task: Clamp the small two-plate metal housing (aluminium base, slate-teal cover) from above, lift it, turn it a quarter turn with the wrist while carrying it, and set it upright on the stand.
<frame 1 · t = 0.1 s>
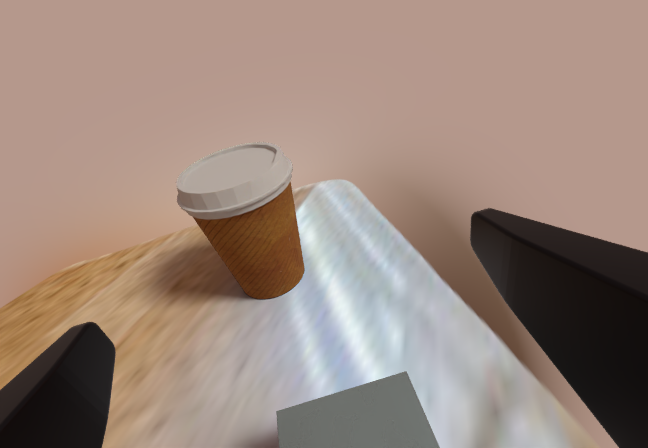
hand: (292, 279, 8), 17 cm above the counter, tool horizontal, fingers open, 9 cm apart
disposable coffee cup: (274, 276, 35), on the counter
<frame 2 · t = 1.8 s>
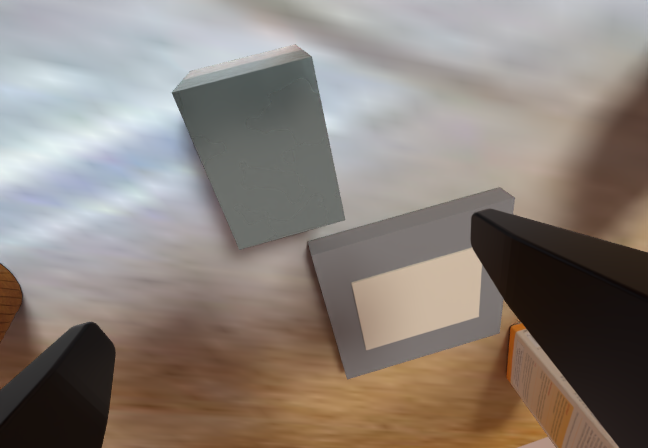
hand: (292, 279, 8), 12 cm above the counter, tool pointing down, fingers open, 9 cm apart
supplement box: (528, 342, 33), on the counter
housing: (265, 129, 18), on the counter
stand: (411, 286, 26), on the counter
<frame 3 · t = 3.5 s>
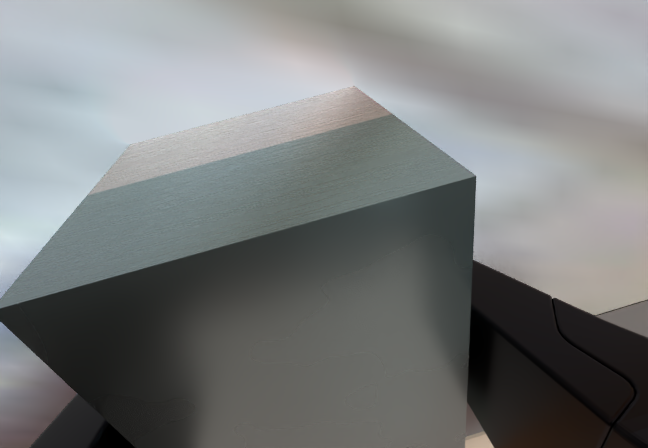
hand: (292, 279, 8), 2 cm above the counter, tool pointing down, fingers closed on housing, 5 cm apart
housing: (285, 239, 10), on the counter, touching gripper
stand: (495, 425, 17), on the counter
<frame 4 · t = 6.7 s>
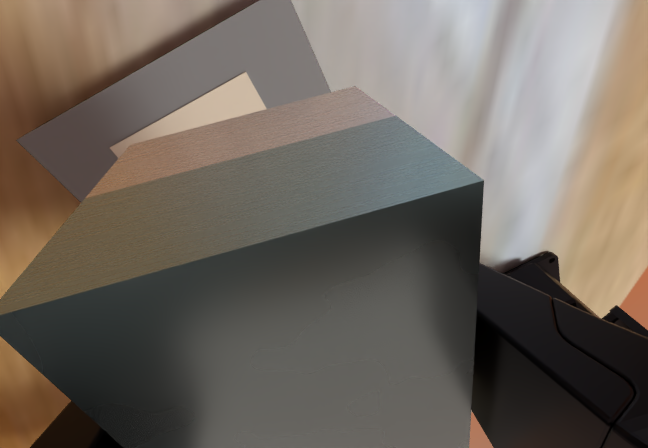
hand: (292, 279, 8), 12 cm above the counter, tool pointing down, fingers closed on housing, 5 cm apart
housing: (286, 241, 10), point 10 cm above the counter, touching gripper
stand: (234, 177, 19), on the counter
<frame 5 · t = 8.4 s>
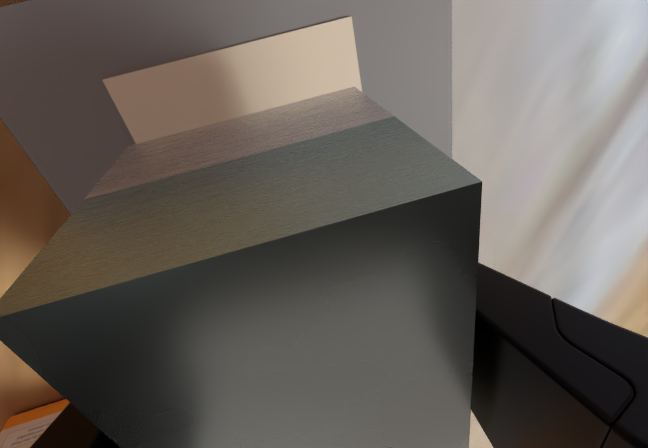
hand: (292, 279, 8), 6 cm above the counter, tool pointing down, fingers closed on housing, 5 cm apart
supplement box: (115, 408, 19), on the counter
housing: (285, 242, 10), point 5 cm above the counter, touching gripper
stand: (271, 171, 13), on the counter
when the fingers open (4 cm above the counter, at t = 9.7 s): housing drops 1 cm, resting on stand.
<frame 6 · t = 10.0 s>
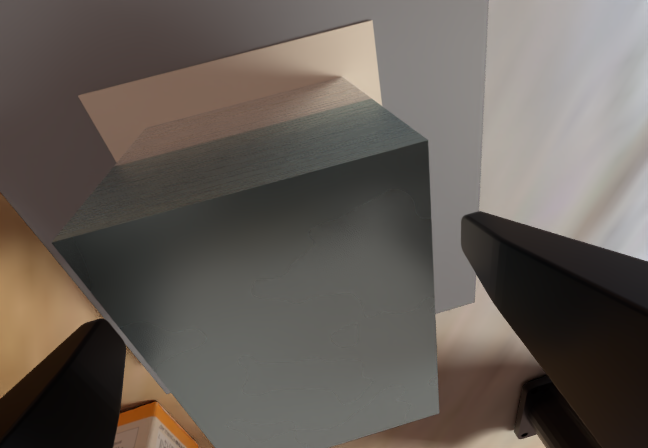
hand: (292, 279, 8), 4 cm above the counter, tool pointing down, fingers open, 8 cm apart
supplement box: (105, 443, 18), on the counter
housing: (282, 217, 11), point 2 cm above the counter, touching stand
stand: (276, 193, 12), on the counter
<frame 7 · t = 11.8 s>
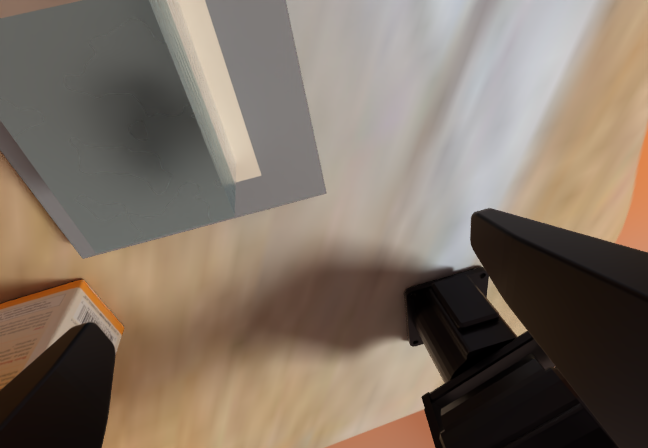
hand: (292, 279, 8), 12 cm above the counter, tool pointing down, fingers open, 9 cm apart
supplement box: (45, 320, 22), on the counter
housing: (150, 102, 15), point 2 cm above the counter, touching stand
stand: (156, 93, 16), on the counter
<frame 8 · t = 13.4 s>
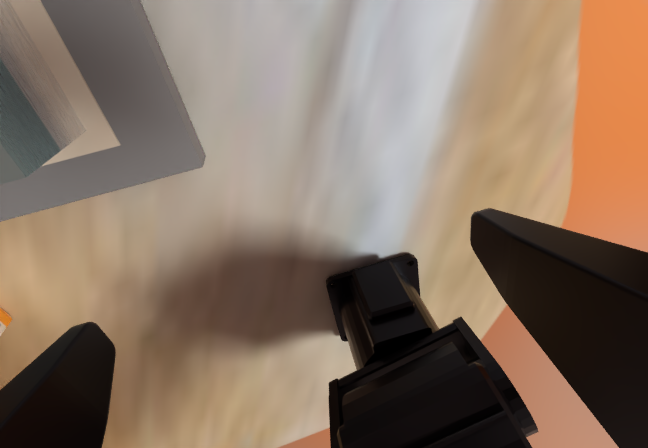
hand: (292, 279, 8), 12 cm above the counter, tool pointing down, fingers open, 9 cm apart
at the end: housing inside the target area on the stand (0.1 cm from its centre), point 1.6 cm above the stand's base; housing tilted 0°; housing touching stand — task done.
